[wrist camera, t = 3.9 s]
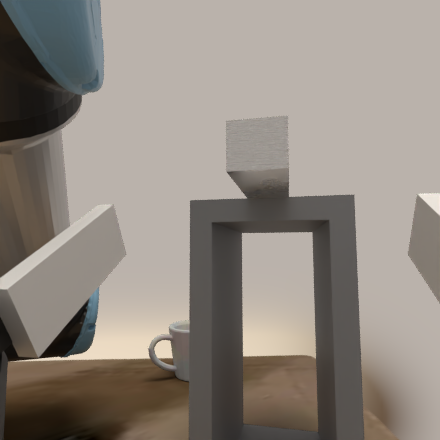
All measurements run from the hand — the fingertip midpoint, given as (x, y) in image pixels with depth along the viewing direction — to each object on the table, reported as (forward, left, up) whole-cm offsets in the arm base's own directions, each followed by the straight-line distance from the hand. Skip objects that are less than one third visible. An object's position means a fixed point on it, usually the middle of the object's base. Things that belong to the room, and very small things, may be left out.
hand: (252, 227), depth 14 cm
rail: (-16, +4, +4) cm, 17 cm away
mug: (-54, -6, -27) cm, 61 cm away
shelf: (-22, +6, -26) cm, 35 cm away
